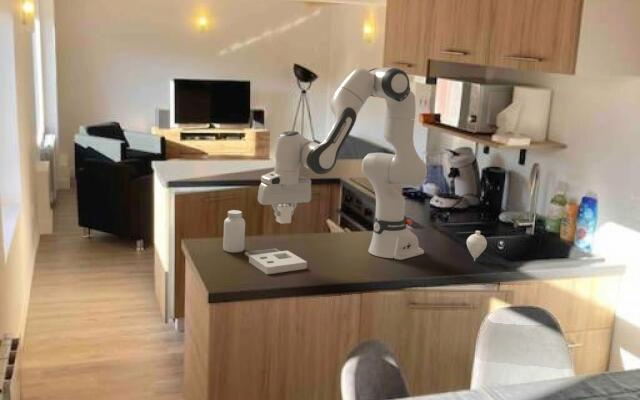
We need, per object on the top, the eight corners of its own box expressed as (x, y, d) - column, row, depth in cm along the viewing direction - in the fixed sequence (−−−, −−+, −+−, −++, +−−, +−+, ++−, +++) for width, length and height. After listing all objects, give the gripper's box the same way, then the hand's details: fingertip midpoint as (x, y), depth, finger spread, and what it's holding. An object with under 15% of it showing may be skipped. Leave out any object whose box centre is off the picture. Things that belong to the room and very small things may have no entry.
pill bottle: (229, 254, 252) (230, 215, 248) (219, 248, 258) (220, 210, 255) (248, 251, 256) (249, 213, 253) (237, 245, 263) (238, 208, 259)
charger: (285, 220, 246) (286, 200, 244) (290, 222, 242) (292, 203, 241) (275, 221, 243) (277, 201, 242) (281, 223, 240) (282, 203, 239)
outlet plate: (287, 256, 253) (287, 249, 252) (306, 268, 241) (307, 261, 241) (248, 262, 244) (249, 254, 244) (266, 274, 233) (267, 266, 232)
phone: (275, 251, 260) (275, 248, 259) (284, 257, 254) (284, 253, 254) (244, 255, 253) (244, 251, 252) (253, 261, 247) (253, 257, 247)
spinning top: (474, 265, 257) (478, 234, 255) (460, 259, 263) (463, 229, 261) (488, 262, 261) (492, 232, 259) (474, 256, 268) (477, 227, 265)
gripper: (306, 174, 247) (304, 211, 250) (256, 176, 237) (254, 214, 240) (315, 178, 242) (313, 215, 245) (265, 180, 231) (262, 219, 234)
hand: (283, 215), depth 242 cm, fingers closed on charger, 4 cm apart
